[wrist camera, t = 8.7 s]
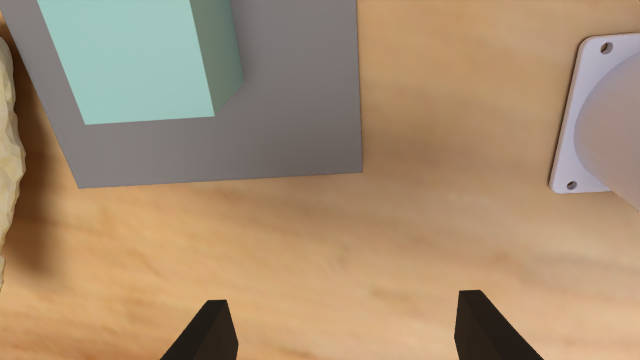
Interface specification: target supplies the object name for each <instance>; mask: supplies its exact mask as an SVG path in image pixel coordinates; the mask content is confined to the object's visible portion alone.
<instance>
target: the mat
mask: <svg viewBox="0 0 640 360" xmlns="http://www.w3.org/2000/svg"><path fill="white" fill-rule="evenodd" d="M230 4H231V10H232V15H233V21H234V27H235V33H236V38H237V44H238V50H239V56H240V61H241V67H242V73H243V79H244V83H243V84H242V85H241V86H240V87H239V88H238V90H237V91H236V92H235V93H234V94H233V95H232V97H231V98H230V99H229V100H228V101H227V102H226V104H225V105H224V106H223V107H222V108H221V110H220V111H219V112H218V113H217V114H216V115H215V116H211V117H196V118H180V119H165V120H150V121H135V122H119V123H104V124H89V125H85V123H84V120H83V117H82V115H81V112H80V110H79V107H78V105H77V102H76V99H75V97H74V94H73V92H72V89H71V87H70V84H69V81H68V79H67V76H66V74H65V71H64V69H63V66H62V63H61V61H60V58H59V56H58V53H57V51H56V48H55V45H54V43H53V40H52V38H51V35H50V33H49V30H48V27H47V25H46V22H45V20H44V17H43V15H42V12H41V9H40V7H39V4H38V2H37V0H0V10H1V12H2V15H3V17H4V19H5V22H6V24H7V26H8V28H9V31H10V33H11V35H12V38H13V40H14V42H15V44H16V47H17V49H18V51H19V54H20V56H21V58H22V60H23V63H24V65H25V67H26V69H27V72H28V74H29V76H30V79H31V81H32V83H33V85H34V88H35V90H36V92H37V95H38V97H39V99H40V101H41V104H42V106H43V108H44V110H45V113H46V115H47V117H48V120H49V122H50V124H51V126H52V129H53V131H54V133H55V136H56V138H57V140H58V142H59V145H60V147H61V149H62V152H63V154H64V156H65V158H66V161H67V163H68V165H69V167H70V170H71V172H72V174H73V177H74V179H75V181H76V183H77V186H78V188H79V189H83V188H100V187H118V186H135V185H152V184H170V183H187V182H205V181H222V180H239V179H257V178H274V177H292V176H309V175H327V174H344V173H361V172H363V170H362V144H361V119H360V93H359V67H358V42H357V16H356V0H230Z"/></svg>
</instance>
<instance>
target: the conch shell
mask: <svg viewBox="0 0 640 360" xmlns="http://www.w3.org/2000/svg"><path fill="white" fill-rule="evenodd" d="M13 70H14V69H13V61H12V55H11V52H10V49H9V47H8V45H7V43H6V42H5V41H4V40H3V39H2V38H1V37H0V291H1V288H2V285H3V283H4V280H3V274H4V267H5V256H4V255H3V253H2V248H3V244H4V243H5V236H6V233H7V231H8V229H9V228H10V226H11V225H12V220H13V215H14V206H15V204H16V201H17V199H18V197H19V195H20V190H19V182H20V180H21V179H22V177H23V175H24V173H25V171H26V166H25V156H26V153H25V150H24V147H23V145H22V143H21V141H20V138H19V135H18V129H17V127H18V119H17V115H16V114H15V112H14V110H13V107H14V103H15V100H16V99H15V88H14V81H13Z"/></svg>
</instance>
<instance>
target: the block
mask: <svg viewBox="0 0 640 360" xmlns="http://www.w3.org/2000/svg"><path fill="white" fill-rule="evenodd" d="M37 2H38V4H39V7H40V9H41V12H42V15H43V17H44V20H45V22H46V25H47V27H48V30H49V33H50V35H51V38H52V40H53V43H54V45H55V48H56V51H57V53H58V56H59V58H60V61H61V63H62V66H63V69H64V71H65V74H66V76H67V79H68V81H69V84H70V87H71V89H72V92H73V94H74V97H75V99H76V102H77V105H78V107H79V110H80V112H81V115H82V117H83V120H84V123H85V125H89V124H104V123H119V122H135V121H150V120H165V119H180V118H196V117H211V116H215V115H216V114H217V113H218V112H219V111H220V110H221V108H222V107H223V106H224V105H225V104H226V102H227V101H228V100H229V99H230V98H231V97H232V95H233V94H234V93H235V92H236V91H237V90H238V88H239V87H240V86H241V85H242V84H243V83H244V79H243V73H242V67H241V61H240V56H239V50H238V44H237V38H236V33H235V27H234V21H233V15H232V10H231V4H230V0H37Z"/></svg>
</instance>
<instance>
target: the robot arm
mask: <svg viewBox="0 0 640 360" xmlns="http://www.w3.org/2000/svg"><path fill="white" fill-rule="evenodd" d="M605 43H608V47H607V49H606V50H605V51H604V52H601V51H600V49H601V47H602V45H603V44H605ZM572 181H573V183H572V184H571V185H570V186H567V184H568V183H569V182H572ZM549 187H550V189H551V190H552V191H553V192H555V193H558V194H565V193H584V192H604V191H613V192H615V193H616V194H617V195H618V196H620V197H621V198H622V199H623V200H625V201H626V202H627V203H628V204H630V205H631V206H632V207H633V208H635V209H636V210H637V211H638V212H640V33H628V34H615V35H603V36H592V37H589V38H587V39H586V40H584V41H583V42H582V44H581V45H580V48H579V51H578V55H577V60H576V64H575V69H574V74H573V78H572V83H571V87H570V92H569V96H568V101H567V105H566V110H565V114H564V119H563V123H562V128H561V132H560V137H559V141H558V146H557V150H556V155H555V160H554V164H553V169H552V173H551V178H550V182H549ZM454 339H455V343H456V348H457V352H458V356H459V360H544V359H543V358H542V357H541V356H540V355H539V354H538V353H537V352H536V351H535V350H534V349H533V348H532V347H531V346H530V345H529V344H528V343H527V342H526V341H525V340H524V338H523V337H522V336H521V335H520V334H519V333H518V332H517V331H516V330H515V329H514V328H513V327H512V325H511V324H510V323H509V322H508V321H507V320H506V319H505V318H504V316H503V315H502V314H501V313H500V312H499V311H498V310H497V308H496V307H495V306H494V305H493V304H492V302H491V301H490V300H489V299H488V298H487V297H486V295H485V294H484V293H483V292H482V291H481V290H465V291H459V298H458V307H457V316H456V325H455V334H454ZM237 351H238V340H237V336H236V333H235V329H234V325H233V322H232V318H231V314H230V311H229V307H228V303H227V300H208V301H207V302H206V303H205V304H204V305H203V306H202V308H201V309H200V310H199V312H198V313H197V314H196V315H195V317H194V318H193V319H192V321H191V322H190V323H189V324H188V326H187V327H186V328H185V330H184V331H183V332H182V333H181V335H180V336H179V337H178V338H177V340H176V341H175V342H174V343H173V344H172V346H171V347H170V348H169V349H168V350H167V352H166V353H165V354H164V355H163V357H162V358H161V359H160V360H236V357H237Z"/></svg>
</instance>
